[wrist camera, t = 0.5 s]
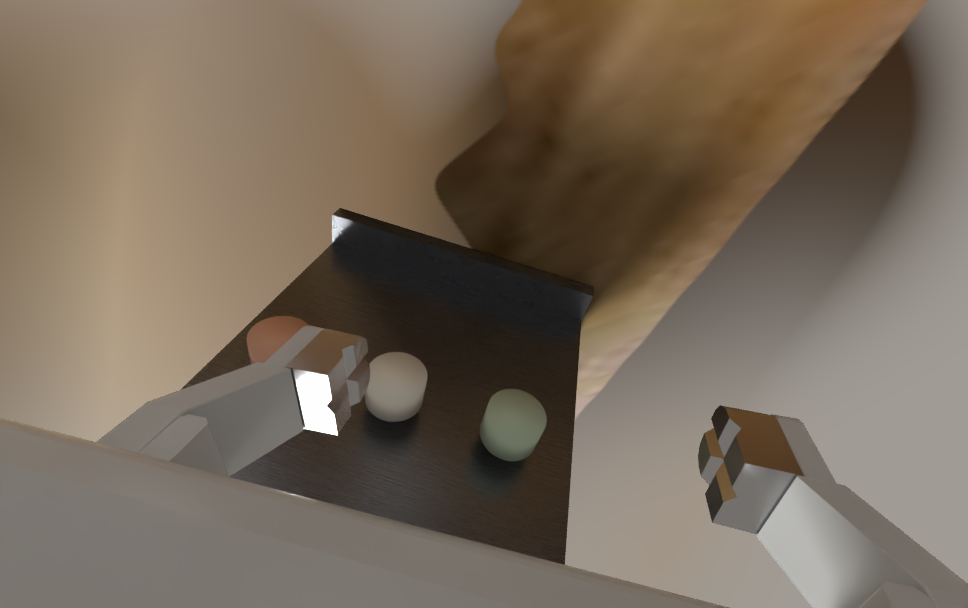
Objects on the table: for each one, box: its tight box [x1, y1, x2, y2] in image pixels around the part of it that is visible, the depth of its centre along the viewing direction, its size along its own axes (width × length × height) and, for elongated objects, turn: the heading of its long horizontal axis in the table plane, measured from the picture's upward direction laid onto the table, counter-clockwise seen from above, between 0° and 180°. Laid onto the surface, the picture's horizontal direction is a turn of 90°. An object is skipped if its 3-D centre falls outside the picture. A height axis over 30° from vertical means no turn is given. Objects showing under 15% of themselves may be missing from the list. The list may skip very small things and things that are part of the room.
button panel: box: [181, 208, 594, 565], centre depth 43 cm, size 12×32×33 cm, turn 78°
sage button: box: [480, 389, 547, 461], centre depth 35 cm, size 3×5×5 cm, turn 77°
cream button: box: [365, 352, 427, 422], centre depth 36 cm, size 3×5×5 cm, turn 77°
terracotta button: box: [247, 316, 308, 364], centre depth 36 cm, size 3×5×5 cm, turn 78°
